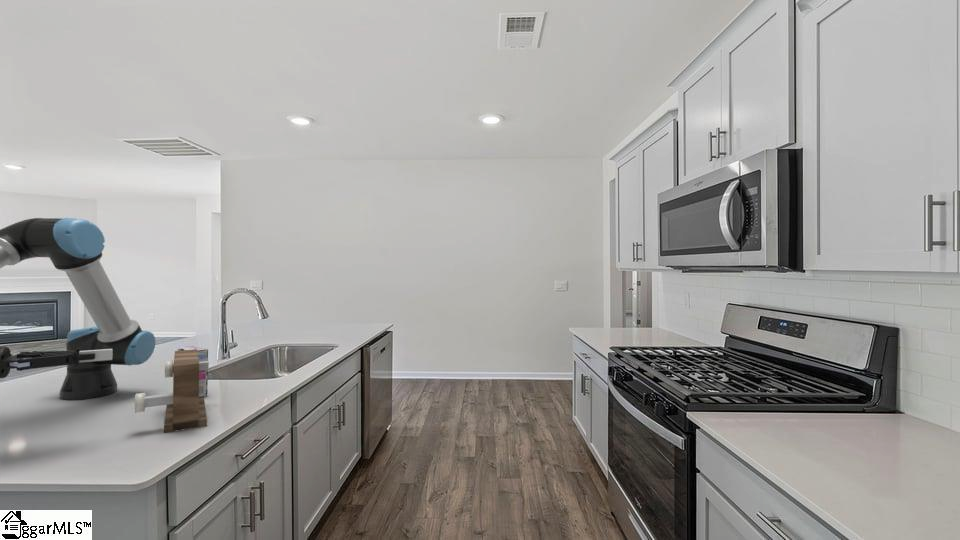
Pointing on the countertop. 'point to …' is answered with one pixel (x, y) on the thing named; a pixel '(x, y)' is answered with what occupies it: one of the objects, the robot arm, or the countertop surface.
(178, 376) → the slatted wooden stand
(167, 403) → the lower plunger
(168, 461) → the countertop surface
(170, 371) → the upper plunger
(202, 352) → the candy bar box
